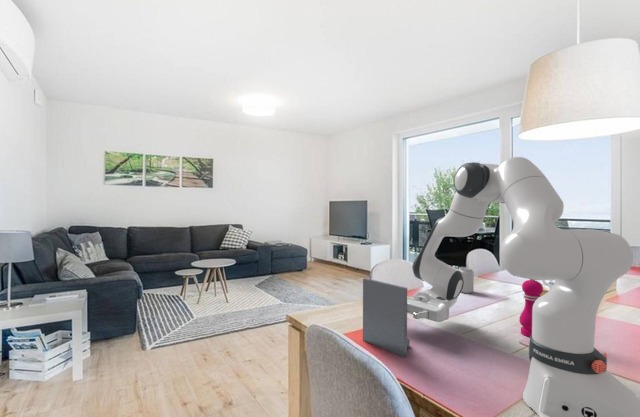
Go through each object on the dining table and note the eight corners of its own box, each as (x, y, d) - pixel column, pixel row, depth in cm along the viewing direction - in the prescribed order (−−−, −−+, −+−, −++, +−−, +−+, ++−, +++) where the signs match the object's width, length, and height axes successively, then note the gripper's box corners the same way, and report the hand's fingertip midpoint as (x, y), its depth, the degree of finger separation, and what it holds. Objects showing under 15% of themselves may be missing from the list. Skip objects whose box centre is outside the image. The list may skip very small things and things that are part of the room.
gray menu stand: (419, 349, 102) (419, 284, 101) (404, 357, 97) (404, 288, 96) (378, 333, 114) (378, 275, 113) (362, 340, 109) (362, 278, 108)
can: (470, 290, 170) (470, 266, 170) (475, 294, 162) (476, 269, 162) (455, 289, 171) (455, 266, 170) (459, 293, 163) (459, 269, 163)
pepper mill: (521, 328, 119) (521, 272, 118) (545, 334, 114) (546, 275, 113) (517, 335, 113) (518, 276, 112) (543, 340, 108) (544, 279, 108)
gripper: (401, 288, 126) (377, 295, 117) (453, 301, 111) (430, 310, 102) (401, 305, 126) (377, 313, 117) (453, 320, 111) (430, 331, 102)
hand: (402, 312), depth 109 cm, fingers open, 8 cm apart
